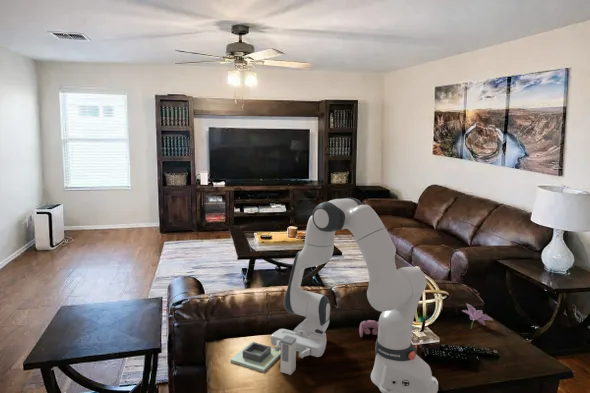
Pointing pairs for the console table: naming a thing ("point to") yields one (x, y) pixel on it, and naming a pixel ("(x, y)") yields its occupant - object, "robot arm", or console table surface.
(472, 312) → the lily
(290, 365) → the plug
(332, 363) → the console table surface
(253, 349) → the board
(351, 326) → the console table surface
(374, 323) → the video game controller
